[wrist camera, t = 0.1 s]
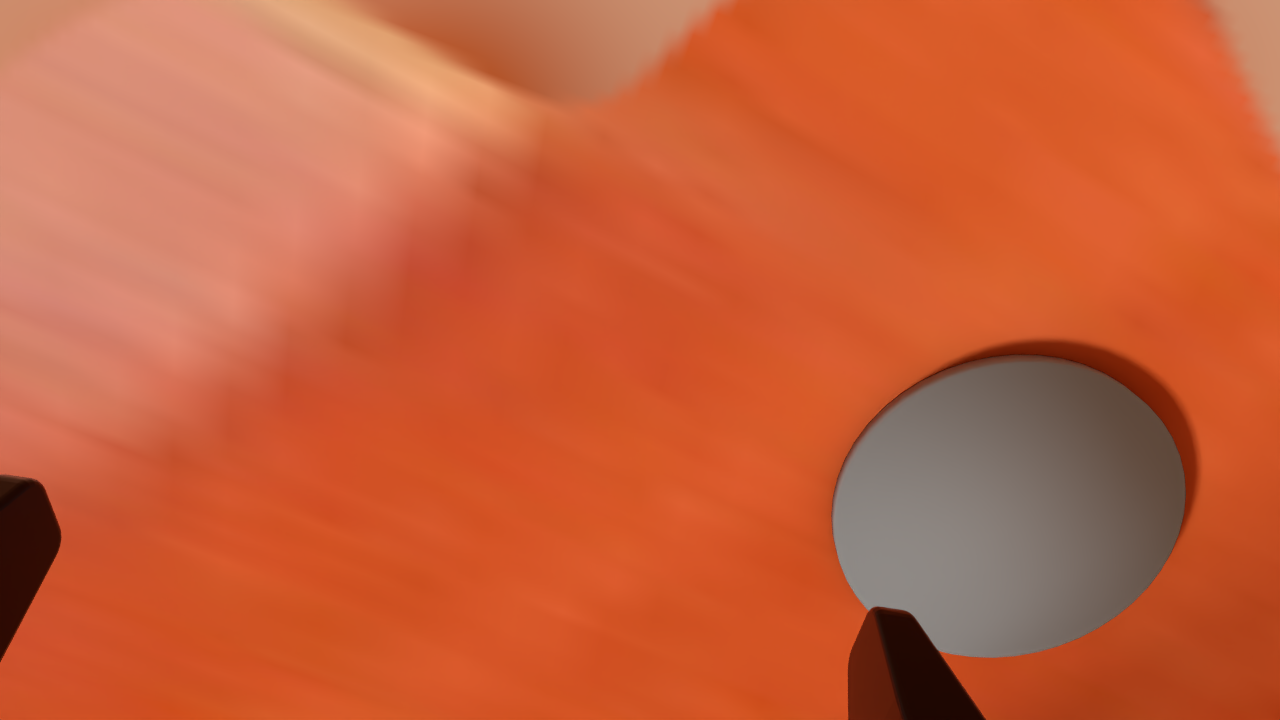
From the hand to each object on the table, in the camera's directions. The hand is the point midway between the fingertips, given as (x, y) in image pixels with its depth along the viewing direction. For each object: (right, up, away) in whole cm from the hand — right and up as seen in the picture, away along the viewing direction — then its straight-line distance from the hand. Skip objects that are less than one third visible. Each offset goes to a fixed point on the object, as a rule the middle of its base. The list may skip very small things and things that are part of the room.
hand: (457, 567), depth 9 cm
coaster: (+13, -2, +17) cm, 21 cm away
